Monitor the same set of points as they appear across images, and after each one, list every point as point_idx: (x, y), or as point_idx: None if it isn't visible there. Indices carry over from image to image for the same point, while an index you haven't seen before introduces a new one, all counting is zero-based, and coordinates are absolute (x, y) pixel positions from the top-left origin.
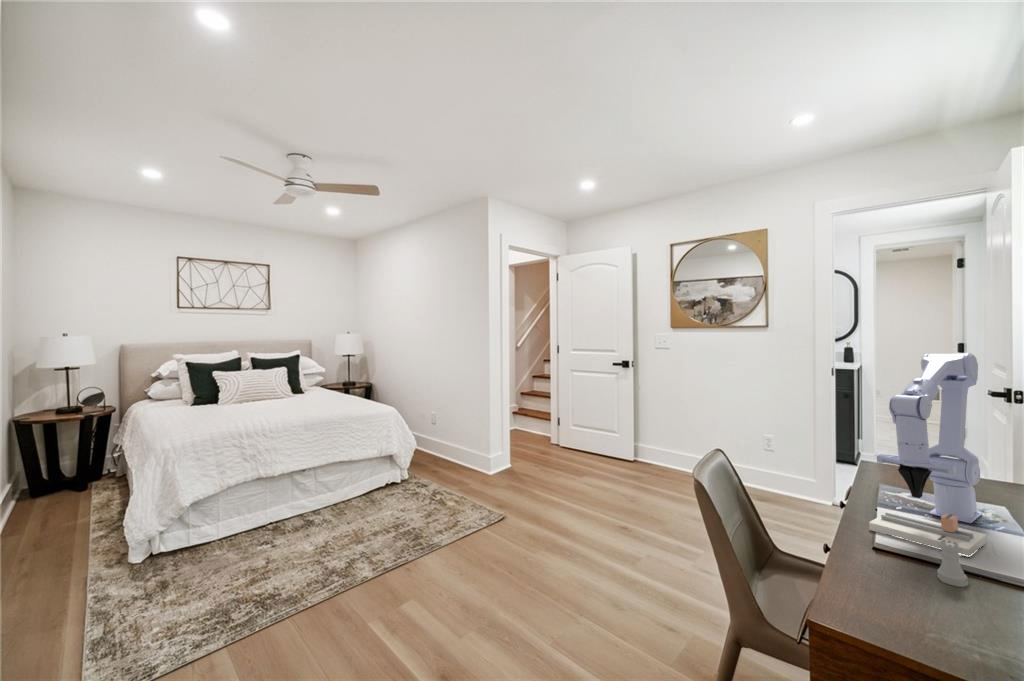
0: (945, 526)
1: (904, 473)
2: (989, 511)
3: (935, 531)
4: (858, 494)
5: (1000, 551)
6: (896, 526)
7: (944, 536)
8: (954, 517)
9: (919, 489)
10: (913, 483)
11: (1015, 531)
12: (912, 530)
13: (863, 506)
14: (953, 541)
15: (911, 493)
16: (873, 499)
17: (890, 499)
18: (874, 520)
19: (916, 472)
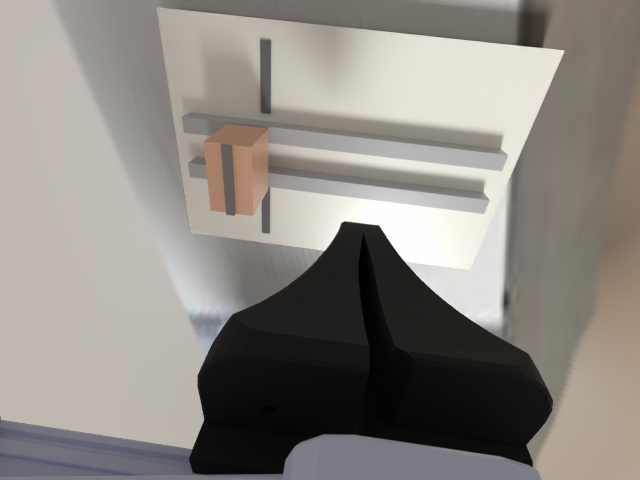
0: (248, 131)
1: (455, 338)
2: None
3: (294, 126)
4: (552, 390)
5: (156, 172)
6: (437, 91)
7: (262, 105)
8: (210, 183)
9: (328, 248)
10: (369, 293)
11: (195, 333)
12: (372, 87)
13: (545, 306)
14: (224, 70)
15: (383, 233)
16: None
17: None
18: (534, 102)
19: (299, 346)
